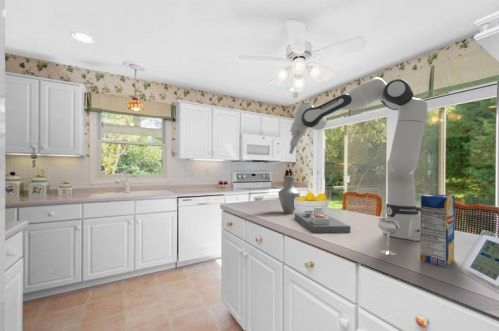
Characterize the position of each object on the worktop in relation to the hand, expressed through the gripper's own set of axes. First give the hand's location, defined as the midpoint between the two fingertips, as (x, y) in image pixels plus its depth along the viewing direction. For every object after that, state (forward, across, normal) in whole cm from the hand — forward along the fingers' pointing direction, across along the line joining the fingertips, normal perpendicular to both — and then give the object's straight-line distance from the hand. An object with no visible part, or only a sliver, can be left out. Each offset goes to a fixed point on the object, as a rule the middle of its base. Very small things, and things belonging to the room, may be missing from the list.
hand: (290, 153), depth 142 cm
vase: (+40, +17, -11) cm, 45 cm away
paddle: (+29, -1, -26) cm, 39 cm away
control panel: (+32, -13, -27) cm, 43 cm away
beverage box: (+18, -55, -59) cm, 83 cm away
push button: (+26, -22, -24) cm, 42 cm away
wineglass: (+22, -51, -46) cm, 72 cm away
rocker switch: (+29, -7, -20) cm, 36 cm away
